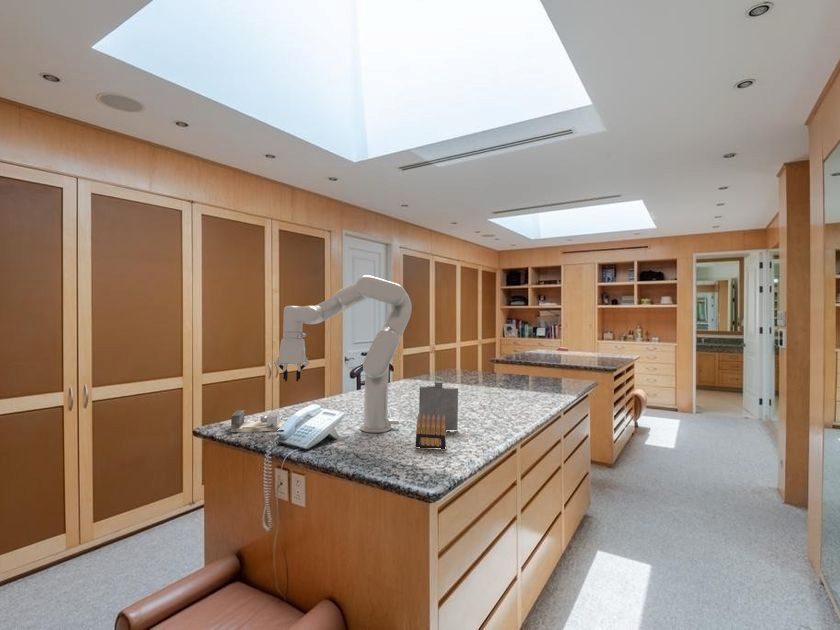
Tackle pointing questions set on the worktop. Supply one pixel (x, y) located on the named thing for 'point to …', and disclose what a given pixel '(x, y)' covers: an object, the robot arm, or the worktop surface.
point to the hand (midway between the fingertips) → (291, 380)
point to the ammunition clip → (430, 433)
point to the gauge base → (249, 424)
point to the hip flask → (439, 404)
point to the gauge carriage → (271, 419)
